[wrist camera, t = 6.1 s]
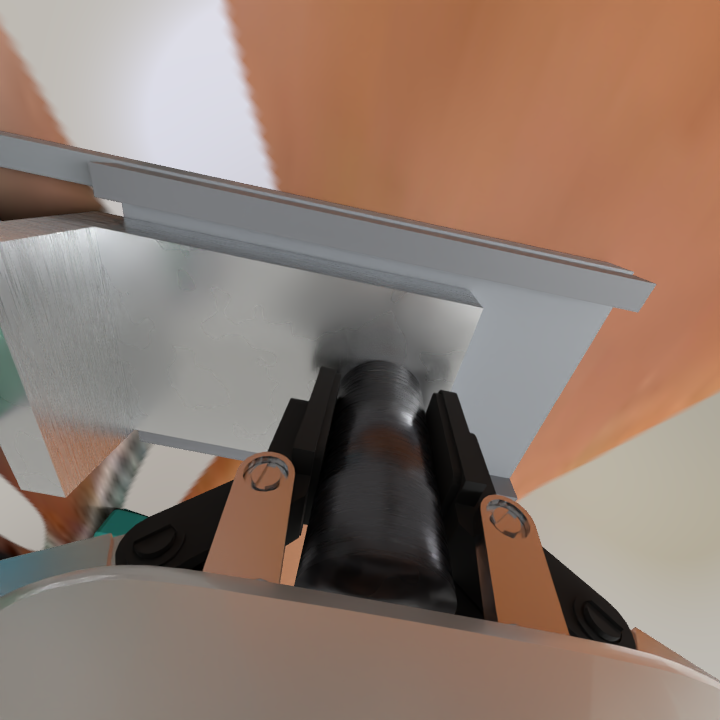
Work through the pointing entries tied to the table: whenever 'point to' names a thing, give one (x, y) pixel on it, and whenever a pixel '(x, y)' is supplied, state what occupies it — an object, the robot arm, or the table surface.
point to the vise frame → (397, 256)
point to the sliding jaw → (235, 377)
